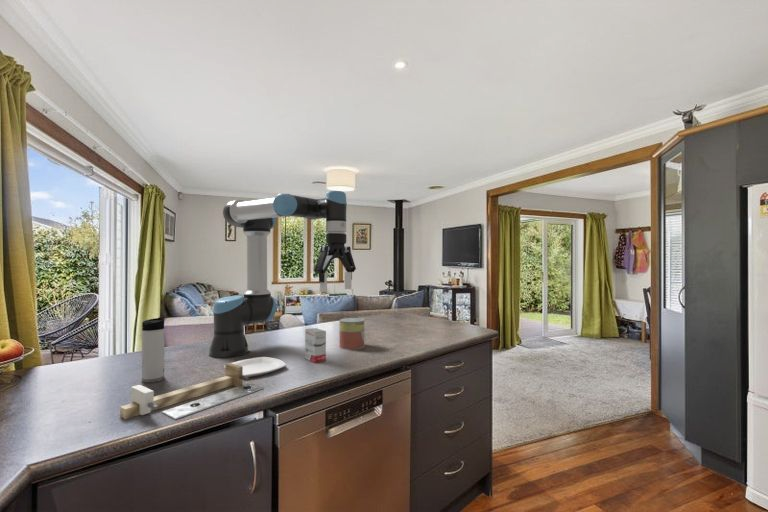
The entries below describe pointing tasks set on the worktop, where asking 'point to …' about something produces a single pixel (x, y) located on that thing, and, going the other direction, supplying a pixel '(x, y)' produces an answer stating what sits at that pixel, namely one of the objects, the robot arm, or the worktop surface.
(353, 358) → the worktop surface
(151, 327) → the travel mug
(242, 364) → the plate
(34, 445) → the worktop surface
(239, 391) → the hole plate
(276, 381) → the worktop surface
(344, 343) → the canned food
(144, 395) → the slider
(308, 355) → the ink box
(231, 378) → the beam
